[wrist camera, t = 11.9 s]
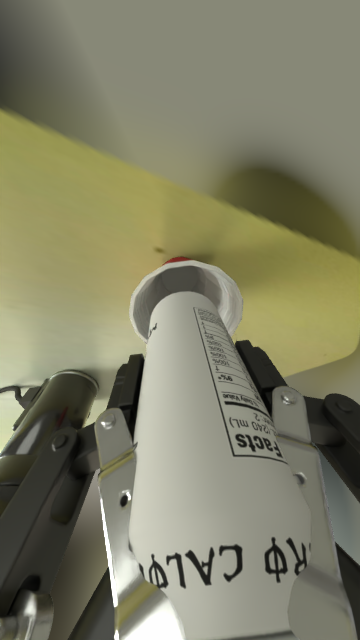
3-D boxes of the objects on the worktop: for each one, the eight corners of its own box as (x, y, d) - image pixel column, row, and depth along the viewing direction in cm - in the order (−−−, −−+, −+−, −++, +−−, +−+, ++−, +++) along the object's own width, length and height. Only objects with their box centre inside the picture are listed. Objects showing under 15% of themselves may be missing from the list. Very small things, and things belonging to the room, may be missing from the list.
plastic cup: (132, 294, 28) (112, 343, 18) (159, 223, 23) (155, 234, 13) (193, 319, 31) (206, 372, 21) (228, 260, 26) (268, 293, 16)
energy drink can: (140, 300, 16) (25, 699, 3) (207, 276, 15) (441, 668, 2) (165, 349, 19) (162, 650, 6) (221, 332, 18) (355, 630, 5)
